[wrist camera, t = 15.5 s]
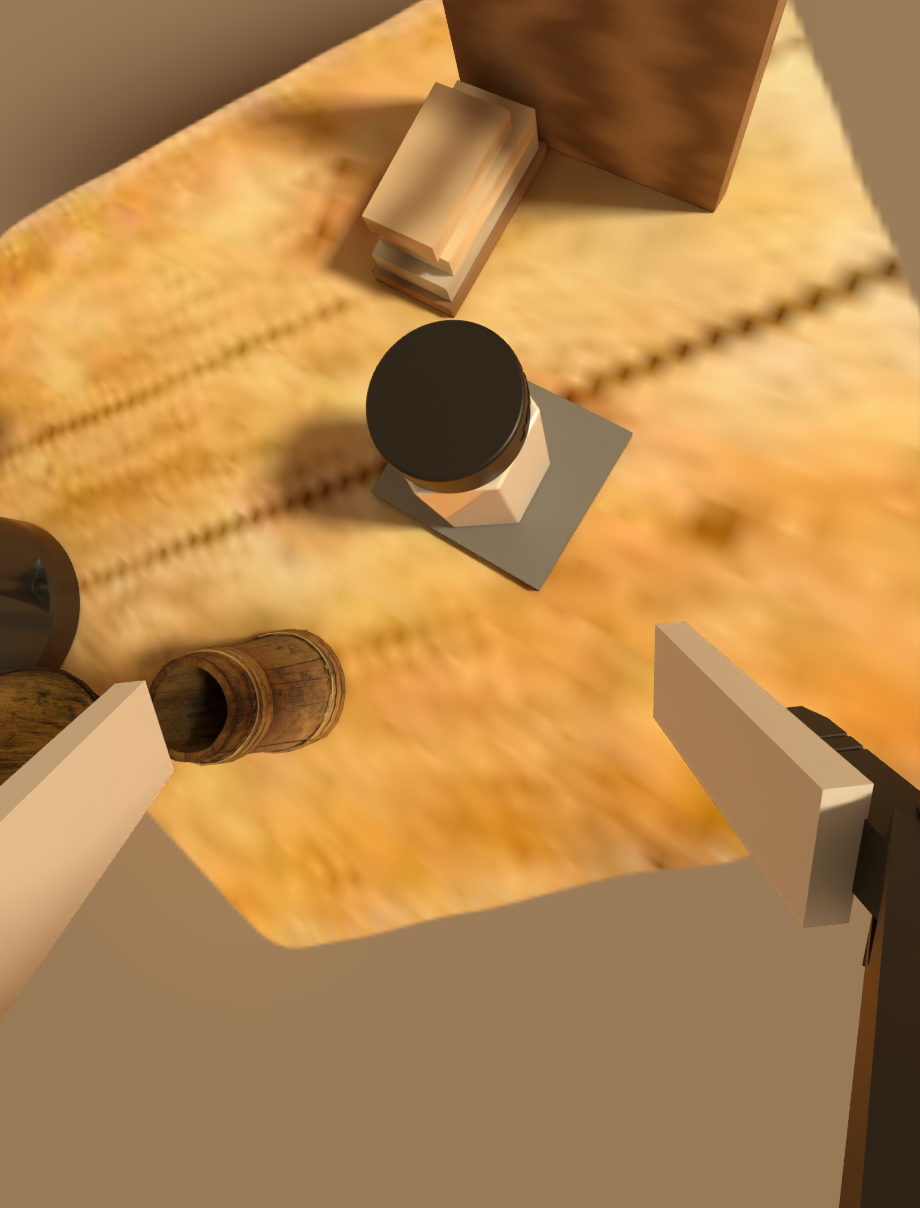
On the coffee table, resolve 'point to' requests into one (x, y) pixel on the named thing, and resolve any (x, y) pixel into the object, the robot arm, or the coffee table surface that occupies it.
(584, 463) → the rubber mat
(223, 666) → the wooden mug
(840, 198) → the coffee table surface
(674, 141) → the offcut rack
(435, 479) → the jar
